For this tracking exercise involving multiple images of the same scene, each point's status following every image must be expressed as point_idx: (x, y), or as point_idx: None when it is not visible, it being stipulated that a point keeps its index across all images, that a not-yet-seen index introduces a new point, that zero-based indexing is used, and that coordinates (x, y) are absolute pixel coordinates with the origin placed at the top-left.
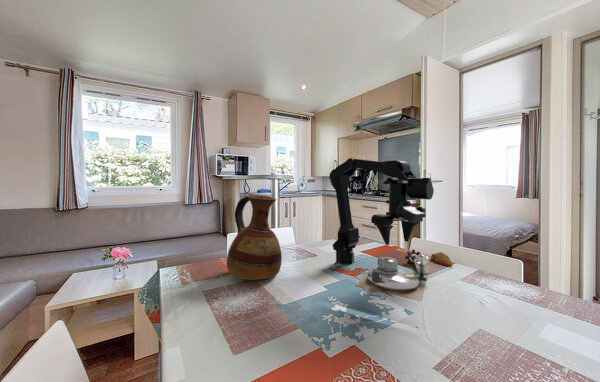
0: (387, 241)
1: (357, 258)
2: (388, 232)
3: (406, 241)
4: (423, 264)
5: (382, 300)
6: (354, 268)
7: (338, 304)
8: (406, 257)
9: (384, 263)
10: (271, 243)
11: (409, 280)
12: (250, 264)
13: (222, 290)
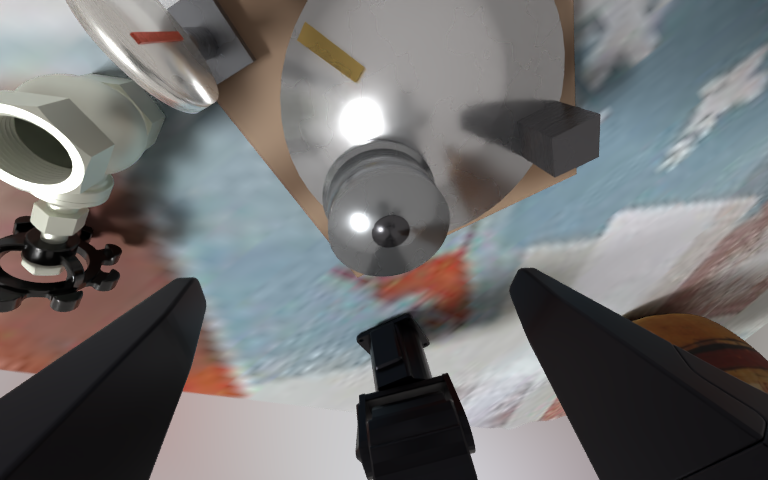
0: (572, 292)
1: (309, 360)
2: (748, 400)
3: (198, 286)
4: (162, 18)
5: (611, 13)
6: (398, 301)
7: (716, 106)
8: (107, 277)
9: (446, 202)
10: None
11: (402, 9)
12: (753, 348)
13: (724, 304)
